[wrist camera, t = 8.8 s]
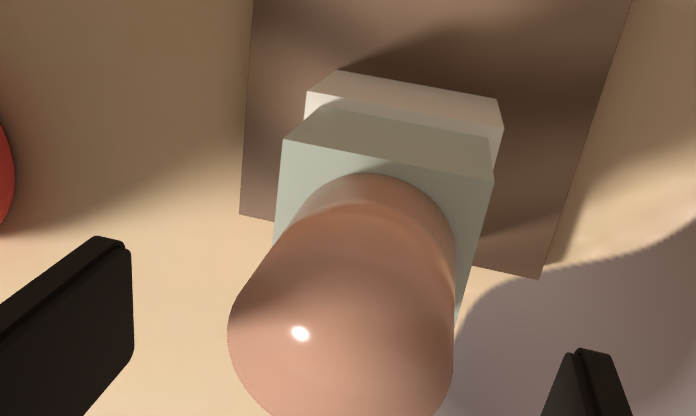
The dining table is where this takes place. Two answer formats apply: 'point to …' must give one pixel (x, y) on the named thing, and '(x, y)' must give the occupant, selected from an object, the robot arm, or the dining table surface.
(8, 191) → the citrus juicer
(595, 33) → the serving board
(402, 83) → the cream block
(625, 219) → the dining table surface
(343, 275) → the pink domed cylinder
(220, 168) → the dining table surface
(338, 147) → the sage block
